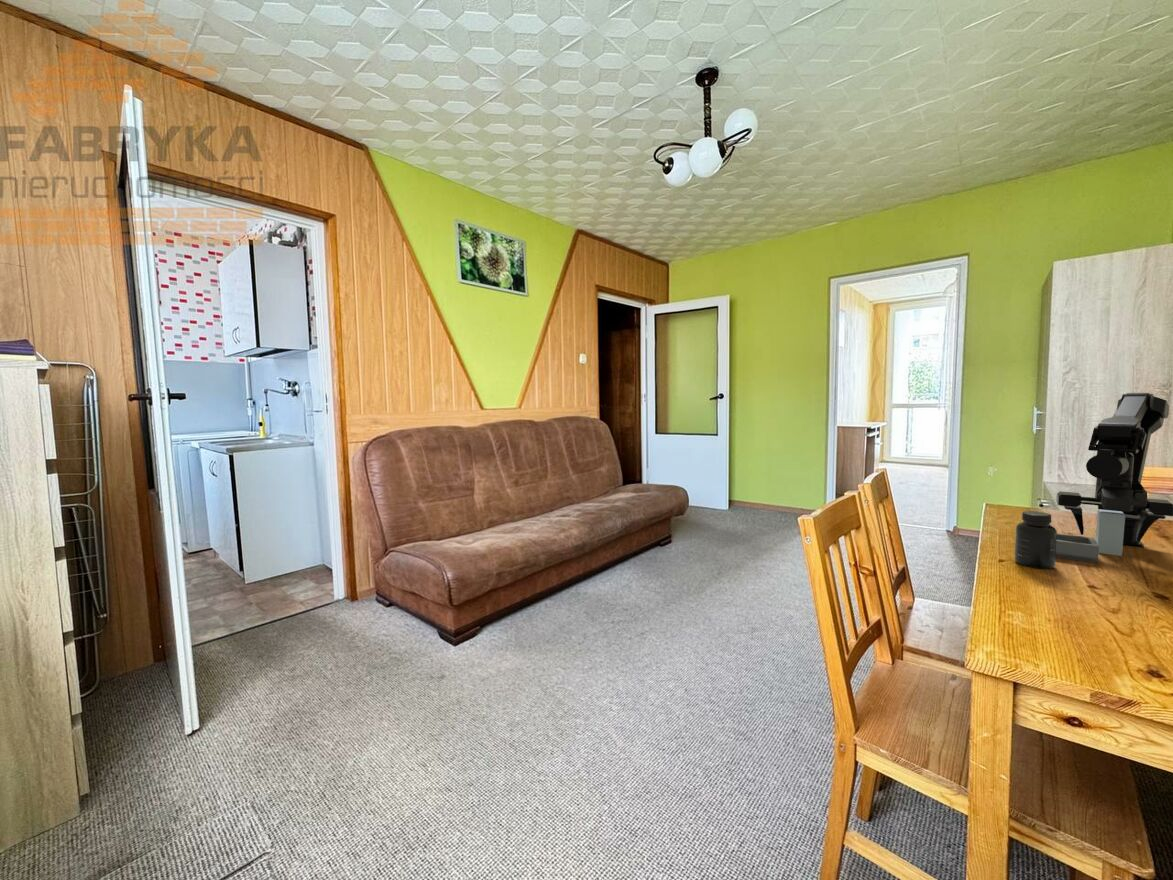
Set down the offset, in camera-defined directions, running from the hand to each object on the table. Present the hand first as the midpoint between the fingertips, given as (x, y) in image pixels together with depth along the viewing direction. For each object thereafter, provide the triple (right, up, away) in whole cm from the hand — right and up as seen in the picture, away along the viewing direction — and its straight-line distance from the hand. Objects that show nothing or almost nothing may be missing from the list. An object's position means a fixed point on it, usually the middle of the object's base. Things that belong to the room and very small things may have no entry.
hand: (1109, 537), depth 114 cm
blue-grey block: (0, -4, 0) cm, 4 cm away
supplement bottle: (-24, -5, -6) cm, 26 cm away
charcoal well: (-10, -4, -1) cm, 11 cm away
